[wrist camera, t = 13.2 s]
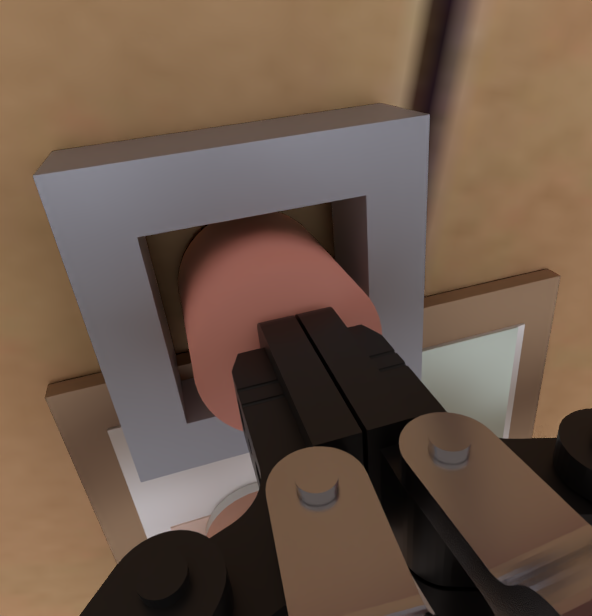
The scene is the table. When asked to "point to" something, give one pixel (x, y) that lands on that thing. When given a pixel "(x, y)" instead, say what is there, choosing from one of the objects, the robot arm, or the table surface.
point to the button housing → (223, 207)
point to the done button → (255, 295)
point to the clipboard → (239, 470)
